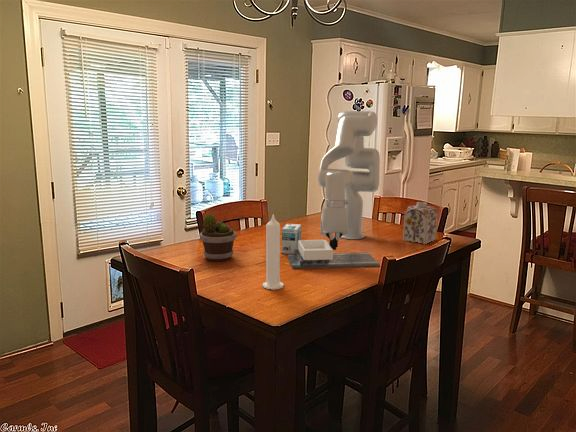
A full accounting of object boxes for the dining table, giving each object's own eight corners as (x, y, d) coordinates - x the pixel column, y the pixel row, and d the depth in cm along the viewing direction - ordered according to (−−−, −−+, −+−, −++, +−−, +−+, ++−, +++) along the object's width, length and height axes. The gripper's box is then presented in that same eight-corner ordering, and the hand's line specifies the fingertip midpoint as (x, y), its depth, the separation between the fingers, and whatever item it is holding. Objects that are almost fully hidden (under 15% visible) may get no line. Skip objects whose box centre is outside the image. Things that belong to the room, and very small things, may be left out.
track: (287, 256, 198) (287, 249, 198) (367, 254, 202) (368, 247, 202) (292, 268, 183) (292, 261, 182) (379, 266, 187) (379, 258, 186)
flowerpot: (231, 251, 205) (230, 205, 201) (240, 261, 191) (240, 212, 187) (196, 254, 200) (195, 207, 196) (204, 265, 186) (203, 214, 182)
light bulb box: (297, 254, 202) (297, 229, 199) (281, 253, 203) (281, 228, 201) (301, 248, 212) (301, 224, 210) (286, 247, 213) (286, 223, 211)
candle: (283, 282, 168) (283, 212, 163) (283, 289, 161) (284, 216, 156) (262, 282, 167) (262, 212, 162) (262, 289, 161) (262, 216, 155)
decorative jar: (413, 236, 235) (415, 199, 231) (436, 240, 227) (439, 202, 224) (402, 240, 226) (404, 202, 222) (425, 245, 218) (428, 206, 215)
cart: (298, 253, 198) (298, 240, 197) (324, 252, 199) (325, 239, 198) (303, 264, 183) (303, 250, 182) (332, 263, 185) (333, 249, 184)
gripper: (351, 201, 192) (349, 246, 196) (314, 202, 190) (313, 247, 194) (356, 205, 185) (354, 251, 189) (317, 205, 183) (316, 252, 187)
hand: (333, 249), depth 191 cm, fingers closed
